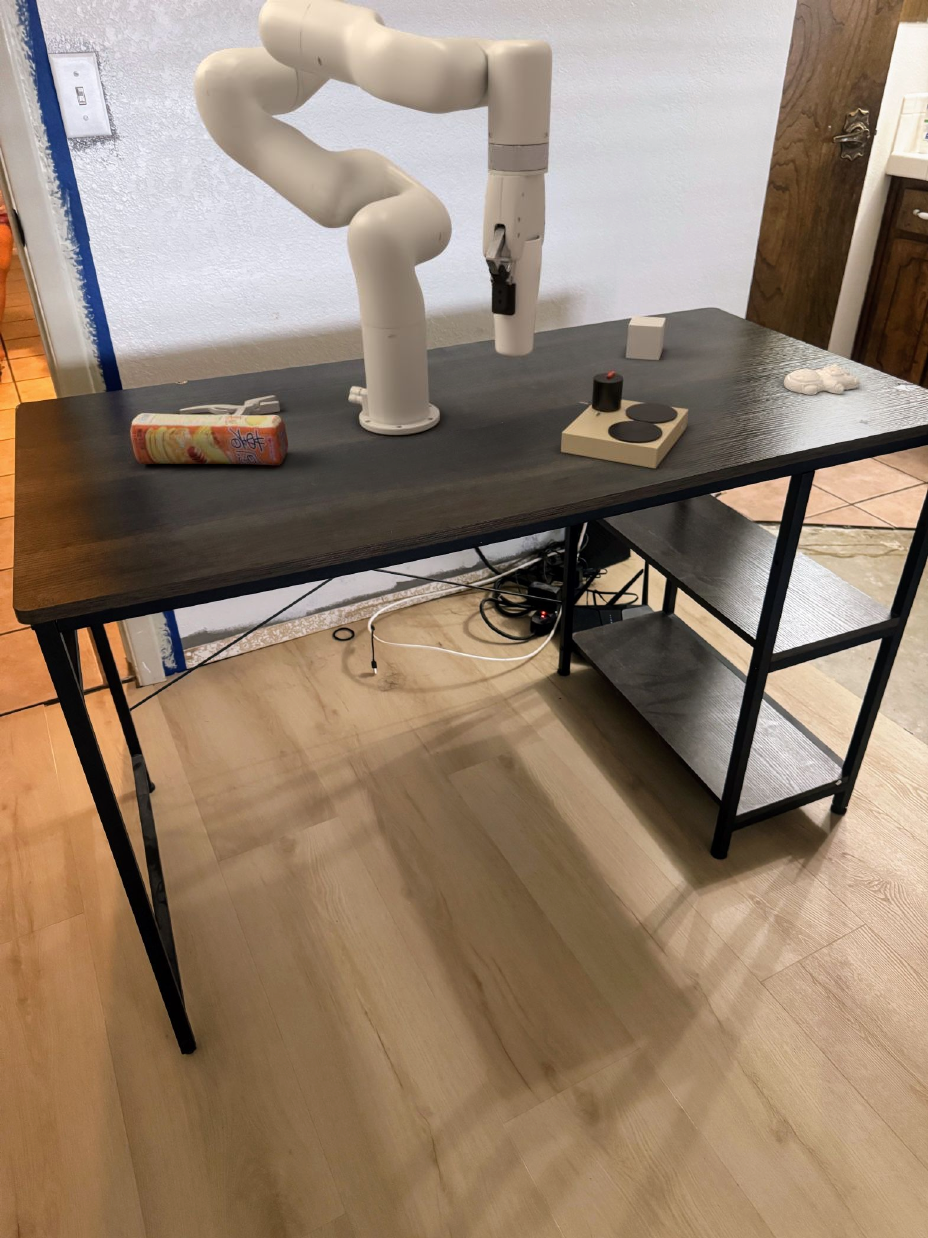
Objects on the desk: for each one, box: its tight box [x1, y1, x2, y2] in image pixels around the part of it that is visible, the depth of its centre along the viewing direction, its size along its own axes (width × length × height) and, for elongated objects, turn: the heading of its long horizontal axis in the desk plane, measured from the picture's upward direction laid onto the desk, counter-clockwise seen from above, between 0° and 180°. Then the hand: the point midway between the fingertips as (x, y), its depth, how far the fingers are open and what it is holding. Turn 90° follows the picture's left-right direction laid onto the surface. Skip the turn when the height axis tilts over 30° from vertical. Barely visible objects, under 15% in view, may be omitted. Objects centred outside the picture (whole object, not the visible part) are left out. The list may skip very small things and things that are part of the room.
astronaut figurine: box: [783, 363, 861, 396], centre depth 146 cm, size 9×12×3 cm
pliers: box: [179, 395, 281, 416], centre depth 141 cm, size 10×2×15 cm
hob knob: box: [591, 370, 624, 412], centre depth 131 cm, size 4×4×5 cm
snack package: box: [130, 412, 289, 466], centre depth 125 cm, size 21×7×7 cm, turn 87°
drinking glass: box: [489, 235, 543, 358], centre depth 118 cm, size 7×7×15 cm
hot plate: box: [560, 399, 689, 469], centre depth 129 cm, size 16×16×3 cm
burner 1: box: [625, 402, 678, 424], centre depth 130 cm, size 8×8×1 cm
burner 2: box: [608, 421, 663, 443], centre depth 124 cm, size 8×8×1 cm
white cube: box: [625, 315, 667, 361], centre depth 161 cm, size 6×6×6 cm
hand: (514, 305), depth 118 cm, fingers closed on drinking glass, 6 cm apart
